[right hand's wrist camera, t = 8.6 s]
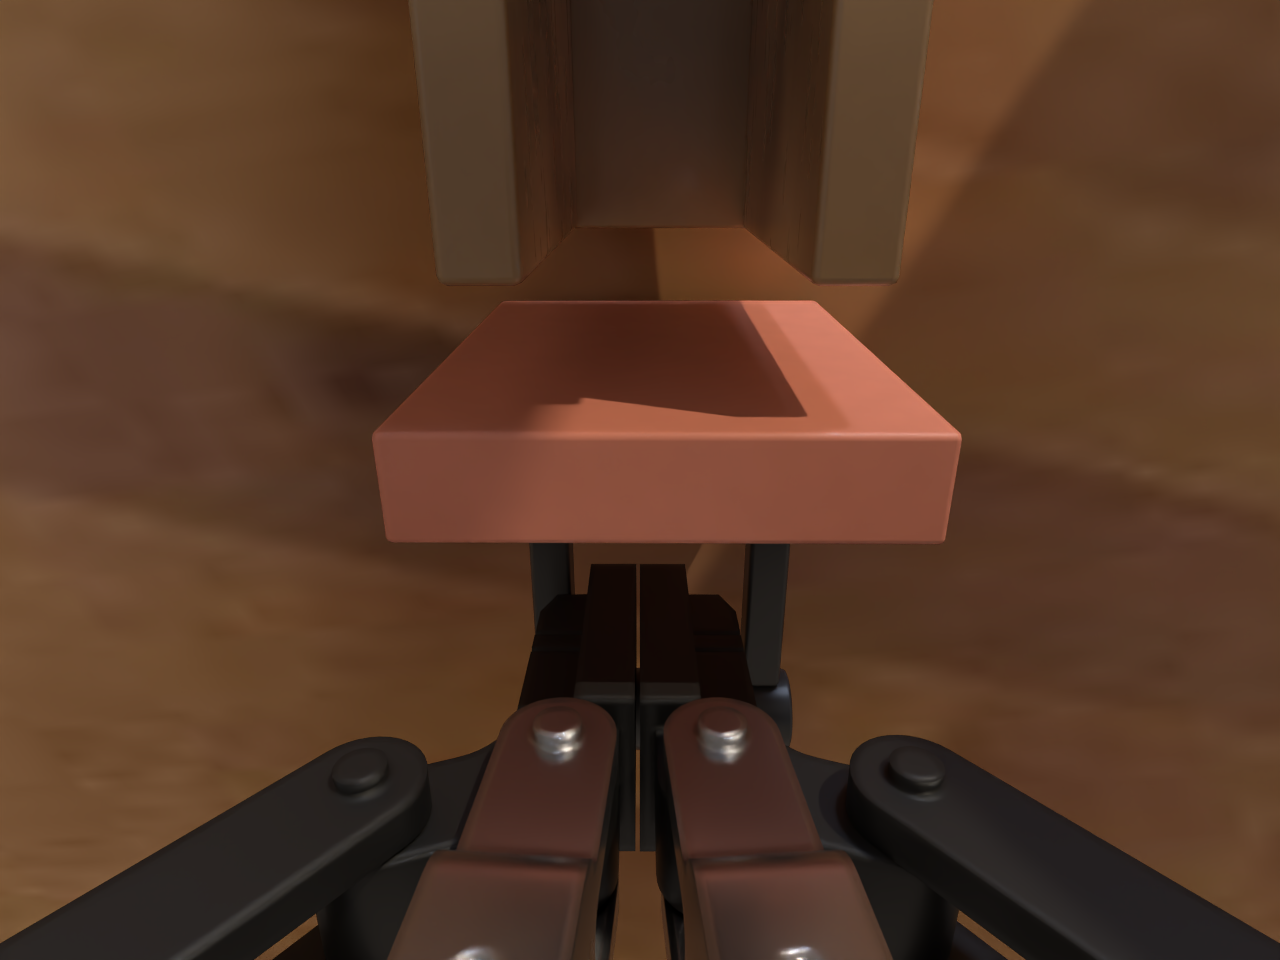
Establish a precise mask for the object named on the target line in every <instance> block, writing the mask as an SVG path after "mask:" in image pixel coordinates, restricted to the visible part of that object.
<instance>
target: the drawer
mask: <svg viewBox="0 0 1280 960" xmlns="http://www.w3.org/2000/svg"><path fill="white" fill-rule="evenodd" d="M933 1H934V0H408V4H409V14H410V24H411V33H412V43H413V53H414V63H415V72H416V82H417V92H418V102H419V112H420V121H421V131H422V141H423V151H424V160H425V170H426V180H427V190H428V200H429V209H430V219H431V229H432V239H433V249H434V258H435V268H436V276H437V278H438V280H439V282H440V283H442V284H445V285H447V286H514V285H517V284H519V283H521V282H522V281H523V280H524V279H525V278H526V277H527V276H528V275H529V274H530V273H531V272H532V271H533V270H534V269H535V268H536V267H537V266H538V265H539V264H540V263H541V262H542V261H543V260H544V259H545V258H546V257H547V256H548V255H549V254H550V253H551V252H552V251H553V250H554V249H555V248H556V247H557V245H558V244H559V243H560V242H561V241H562V240H563V239H564V238H565V237H566V236H567V235H568V234H569V233H570V232H571V231H572V230H573V229H574V228H746V229H747V230H748V231H750V232H751V233H752V234H753V235H754V236H756V237H757V238H758V239H759V240H761V241H762V242H763V243H764V244H765V245H767V246H768V247H769V248H770V249H772V250H773V251H774V252H775V253H777V254H778V255H779V256H780V257H781V258H783V259H784V260H785V261H786V262H788V263H789V264H790V265H791V266H792V267H794V268H795V269H796V270H797V271H799V272H800V273H801V274H802V275H804V276H805V277H806V278H807V279H808V280H810V281H811V282H812V283H814V284H816V285H818V286H889V285H892V284H894V283H896V282H897V280H898V278H899V274H900V266H901V258H902V250H903V242H904V234H905V226H906V218H907V210H908V202H909V194H910V186H911V178H912V170H913V162H914V153H915V145H916V137H917V129H918V121H919V113H920V105H921V97H922V89H923V81H924V73H925V65H926V57H927V49H928V41H929V33H930V25H931V17H932V9H933ZM961 442H962V437H961V434H960V433H959V432H958V431H957V430H956V429H955V428H954V427H953V426H952V425H951V424H950V423H948V422H947V421H946V420H945V419H944V418H943V417H942V416H941V415H940V414H939V413H937V412H936V411H935V410H934V409H933V408H932V407H931V406H930V405H929V404H928V403H926V402H925V401H924V400H923V399H922V398H921V397H920V396H919V395H918V394H917V393H916V392H914V391H913V390H912V389H911V388H910V387H909V386H908V385H907V384H906V383H905V382H903V381H902V380H901V379H900V378H899V377H898V376H897V375H896V374H895V373H894V372H892V371H891V370H890V369H889V368H888V367H887V366H886V365H885V364H884V363H883V362H882V361H880V360H879V359H878V358H877V357H876V356H875V355H874V354H873V353H872V352H871V351H869V350H868V349H867V348H866V347H865V346H864V345H863V344H862V343H861V342H860V341H859V340H857V339H856V338H855V337H854V336H853V335H852V334H851V333H850V332H849V331H848V330H846V329H845V328H844V327H843V326H842V325H841V324H840V323H839V322H838V321H837V320H835V319H834V318H833V317H832V316H831V315H830V314H829V313H828V312H827V311H826V310H825V309H823V308H822V307H821V306H820V305H819V304H818V303H817V302H815V301H503V302H501V303H500V304H499V305H498V306H497V307H496V308H495V309H494V310H493V311H492V312H491V313H490V314H489V315H488V316H487V317H486V318H485V319H484V320H483V321H482V322H481V324H480V325H479V326H478V327H477V328H476V329H475V330H474V331H473V332H472V333H471V334H470V335H469V336H468V337H467V338H466V339H465V340H464V341H463V342H462V343H461V344H460V345H459V346H458V347H457V348H456V349H455V350H454V351H453V352H452V353H451V354H450V355H449V356H448V357H447V358H446V359H445V360H444V361H443V362H442V363H441V364H440V365H439V366H438V367H437V368H436V369H435V370H434V371H433V372H432V373H431V374H430V375H429V376H428V377H427V378H426V379H425V381H424V382H423V383H422V384H421V385H420V386H419V387H418V388H417V389H416V390H415V391H414V392H413V393H412V394H411V395H410V396H409V397H408V398H407V399H406V400H405V401H404V402H403V403H402V404H401V405H400V406H399V407H398V408H397V409H396V410H395V411H394V412H393V413H392V414H391V415H390V416H389V417H388V418H387V419H386V420H385V421H384V422H383V423H382V424H381V425H380V426H379V427H378V428H377V429H376V430H375V431H374V432H373V436H372V443H373V449H374V456H375V463H376V470H377V477H378V484H379V491H380V498H381V504H382V511H383V518H384V525H385V532H386V537H387V539H388V541H390V542H448V543H529V546H530V561H531V577H532V592H533V607H534V623H535V635H536V628H537V624H538V620H539V615H540V611H541V610H542V609H543V608H544V607H545V606H546V605H547V604H548V603H549V602H551V601H552V600H553V599H554V598H555V597H556V596H557V595H558V594H575V585H574V561H573V543H742V544H746V548H745V565H744V583H743V601H742V618H741V638H742V642H743V647H744V652H745V656H746V660H747V664H748V669H749V673H750V678H751V682H752V687H753V691H754V696H755V700H756V704H757V707H758V708H759V709H761V710H762V711H764V712H765V713H767V714H768V715H769V716H770V717H771V718H772V719H773V720H774V722H775V723H776V724H777V726H778V728H779V730H780V733H781V735H782V738H783V741H784V743H785V745H786V746H788V747H789V746H790V743H791V737H792V699H791V690H790V685H789V680H788V677H787V674H786V672H785V670H783V669H780V662H781V650H782V638H783V626H784V613H785V601H786V589H787V577H788V564H789V552H790V544H941V543H943V542H944V540H945V537H946V531H947V525H948V519H949V513H950V507H951V501H952V495H953V489H954V484H955V478H956V472H957V466H958V460H959V454H960V448H961ZM636 750H640V668H636Z"/></svg>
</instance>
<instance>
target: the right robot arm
mask: <svg viewBox="0 0 1280 960" xmlns="http://www.w3.org/2000/svg"><path fill="white" fill-rule="evenodd" d="M635 808H636V564H591V569H590V577H589V585H588V593H587V594H558V595H557V596H556V597H555V598H554V599H553V600H552V601H551V602H549V603H548V604H547V605H546V606H545V607H544V608H543V609H542V610H541V611H540V615H539V620H538V624H537V628H536V635H535V637H534V641H533V645H532V652H531V654H530V658H529V662H528V666H527V671H526V675H525V679H524V683H523V688H522V692H521V696H520V700H519V705H518V709H517V711H516V712H515V713H514V714H512V715H511V716H510V717H509V718H508V719H507V720H506V722H505V723H504V724H503V726H502V728H501V730H500V733H499V736H498V738H497V740H496V741H494V742H493V743H491V744H490V745H488V746H486V747H484V748H482V749H480V750H478V751H476V752H473V753H470V754H468V755H464V756H461V757H457V758H453V759H449V760H444V761H440V762H436V763H431V764H427V761H426V758H425V756H424V754H423V753H422V751H421V750H420V749H419V748H418V747H416V746H415V745H414V744H412V743H410V742H408V741H405V740H402V739H399V738H393V737H369V738H364V739H358V740H355V741H351V742H348V743H345V744H343V745H340V746H338V747H335V748H334V749H332V750H330V751H328V752H326V753H324V754H323V755H321V756H319V757H317V758H316V759H314V760H312V761H311V762H309V763H307V764H305V765H304V766H302V767H300V768H299V769H297V770H295V771H294V772H292V773H290V774H288V775H287V776H285V777H283V778H282V779H280V780H278V781H276V782H275V783H273V784H271V785H270V786H268V787H266V788H265V789H263V790H261V791H259V792H258V793H256V794H254V795H253V796H251V797H249V798H247V799H246V800H244V801H242V802H241V803H239V804H237V805H236V806H234V807H232V808H230V809H229V810H227V811H225V812H224V813H222V814H220V815H218V816H217V817H215V818H213V819H212V820H210V821H208V822H207V823H205V824H203V825H201V826H200V827H198V828H196V829H195V830H193V831H191V832H190V833H188V834H186V835H184V836H183V837H181V838H179V839H178V840H176V841H174V842H172V843H171V844H169V845H167V846H166V847H164V848H162V849H161V850H159V851H157V852H155V853H154V854H152V855H150V856H149V857H147V858H145V859H143V860H142V861H140V862H138V863H137V864H135V865H133V866H132V867H130V868H128V869H126V870H125V871H123V872H121V873H120V874H118V875H116V876H114V877H113V878H111V879H109V880H108V881H106V882H104V883H103V884H101V885H99V886H97V887H96V888H94V889H92V890H91V891H89V892H87V893H85V894H84V895H82V896H80V897H79V898H77V899H75V900H74V901H72V902H70V903H68V904H67V905H65V906H63V907H62V908H60V909H58V910H56V911H55V912H53V913H51V914H50V915H48V916H46V917H45V918H43V919H41V920H39V921H38V922H36V923H34V924H33V925H31V926H29V927H27V928H26V929H24V930H22V931H21V932H19V933H17V934H16V935H14V936H12V937H10V938H9V939H7V940H5V941H4V942H2V943H0V960H254V959H255V958H257V957H258V956H259V955H261V954H262V953H263V952H265V951H266V950H267V949H269V948H270V947H271V946H273V945H274V944H275V943H277V942H278V941H280V940H281V939H282V938H284V937H285V936H286V935H288V934H289V933H290V932H292V931H293V930H294V929H296V928H297V927H298V926H300V925H301V924H302V923H304V922H305V921H306V920H308V919H309V918H310V917H312V916H313V915H314V914H316V916H317V921H318V925H317V926H316V927H315V928H313V929H312V930H311V931H309V932H308V933H307V934H305V935H304V936H303V937H301V938H300V939H299V940H298V941H296V942H295V943H294V944H292V945H291V946H290V947H288V948H287V949H286V950H284V951H283V952H282V953H280V954H279V955H278V956H276V957H275V958H274V959H273V960H613V955H614V947H615V938H616V929H617V921H618V912H619V879H618V874H619V851H635ZM640 851H656V876H657V883H658V886H659V889H660V891H661V912H662V920H663V929H664V937H665V946H666V955H667V960H1007V959H1006V958H1005V957H1004V956H1002V955H1001V954H1000V953H998V952H997V951H996V950H994V949H993V948H992V947H990V946H989V945H988V944H986V943H985V942H984V941H982V940H981V939H980V938H978V937H977V936H976V935H975V934H973V933H972V932H971V931H969V930H968V929H967V928H965V927H964V926H963V925H961V924H960V923H959V922H957V917H958V912H959V910H960V911H962V912H963V913H964V914H966V915H967V916H968V917H970V918H971V919H972V920H974V921H975V922H976V923H978V924H979V925H980V926H982V927H983V928H984V929H986V930H987V931H988V932H990V933H991V934H992V935H994V936H995V937H996V938H998V939H999V940H1000V941H1002V942H1003V943H1004V944H1006V945H1007V946H1009V947H1010V948H1011V949H1013V950H1014V951H1015V952H1017V953H1018V954H1019V955H1021V956H1022V957H1023V958H1025V959H1026V960H1280V943H1278V942H1276V941H1275V940H1273V939H1271V938H1270V937H1268V936H1266V935H1264V934H1263V933H1261V932H1259V931H1258V930H1256V929H1254V928H1253V927H1251V926H1249V925H1247V924H1246V923H1244V922H1242V921H1241V920H1239V919H1237V918H1235V917H1234V916H1232V915H1230V914H1229V913H1227V912H1225V911H1224V910H1222V909H1220V908H1218V907H1217V906H1215V905H1213V904H1212V903H1210V902H1208V901H1206V900H1205V899H1203V898H1201V897H1200V896H1198V895H1196V894H1195V893H1193V892H1191V891H1189V890H1188V889H1186V888H1184V887H1183V886H1181V885H1179V884H1177V883H1176V882H1174V881H1172V880H1171V879H1169V878H1167V877H1166V876H1164V875H1162V874H1160V873H1159V872H1157V871H1155V870H1154V869H1152V868H1150V867H1148V866H1147V865H1145V864H1143V863H1142V862H1140V861H1138V860H1137V859H1135V858H1133V857H1131V856H1130V855H1128V854H1126V853H1125V852H1123V851H1121V850H1119V849H1118V848H1116V847H1114V846H1113V845H1111V844H1109V843H1108V842H1106V841H1104V840H1102V839H1101V838H1099V837H1097V836H1096V835H1094V834H1092V833H1090V832H1089V831H1087V830H1085V829H1084V828H1082V827H1080V826H1079V825H1077V824H1075V823H1073V822H1072V821H1070V820H1068V819H1067V818H1065V817H1063V816H1061V815H1060V814H1058V813H1056V812H1055V811H1053V810H1051V809H1050V808H1048V807H1046V806H1044V805H1043V804H1041V803H1039V802H1038V801H1036V800H1034V799H1032V798H1031V797H1029V796H1027V795H1026V794H1024V793H1022V792H1021V791H1019V790H1017V789H1015V788H1014V787H1012V786H1010V785H1009V784H1007V783H1005V782H1004V781H1002V780H1000V779H998V778H997V777H995V776H993V775H992V774H990V773H988V772H986V771H985V770H983V769H981V768H980V767H978V766H976V765H975V764H973V763H971V762H969V761H968V760H966V759H964V758H963V757H961V756H959V755H957V754H956V753H954V752H952V751H951V750H949V749H947V748H945V747H943V746H941V745H939V744H936V743H934V742H931V741H928V740H925V739H921V738H917V737H912V736H904V735H886V736H880V737H876V738H873V739H870V740H868V741H866V742H864V743H862V744H861V745H860V746H859V747H858V748H857V749H856V750H855V751H854V753H853V754H852V757H851V760H850V765H846V764H842V763H838V762H833V761H829V760H825V759H820V758H816V757H813V756H809V755H806V754H803V753H801V752H798V751H796V750H794V749H792V748H790V747H788V746H786V745H785V743H784V741H783V738H782V735H781V733H780V730H779V728H778V726H777V724H776V723H775V722H774V720H773V719H772V718H771V717H770V716H769V715H768V714H767V713H765V712H764V711H762V710H761V709H759V708H758V707H757V704H756V700H755V696H754V691H753V687H752V682H751V678H750V673H749V669H748V664H747V660H746V656H745V652H744V647H743V642H742V638H741V635H740V629H739V624H738V620H737V616H736V611H735V610H733V609H732V608H731V607H730V606H729V605H728V604H727V603H726V602H725V601H724V600H723V599H722V598H721V597H720V596H719V595H689V594H688V585H687V577H686V569H685V564H640Z"/></svg>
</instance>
